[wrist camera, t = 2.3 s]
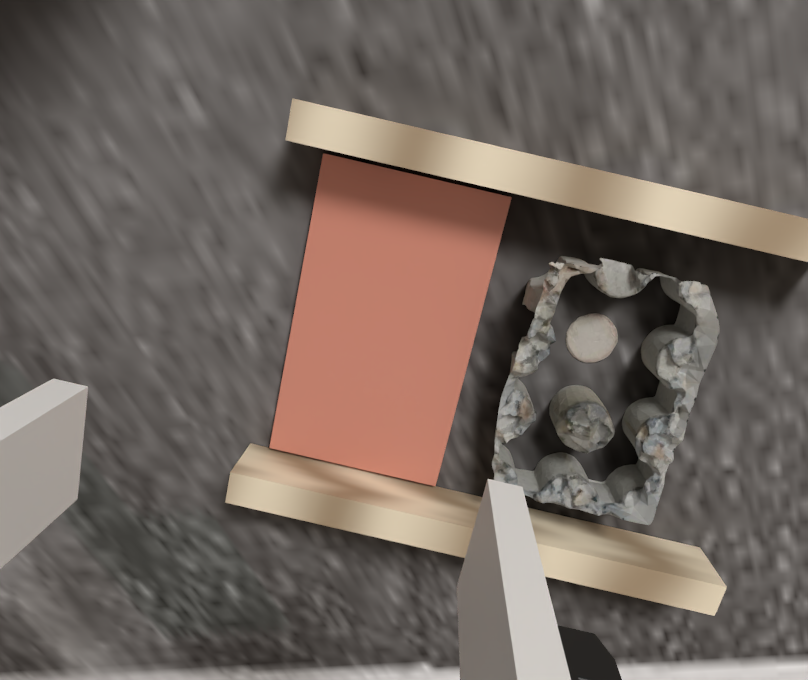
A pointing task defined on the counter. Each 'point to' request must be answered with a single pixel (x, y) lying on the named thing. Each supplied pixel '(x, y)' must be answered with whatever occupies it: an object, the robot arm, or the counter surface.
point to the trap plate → (385, 318)
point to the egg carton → (584, 412)
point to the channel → (456, 511)
